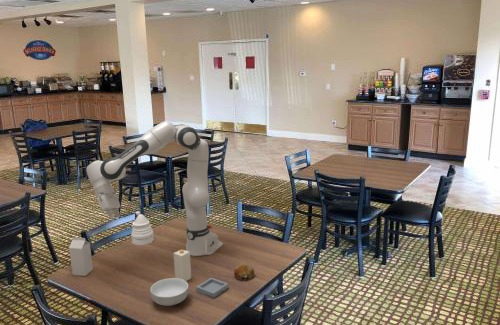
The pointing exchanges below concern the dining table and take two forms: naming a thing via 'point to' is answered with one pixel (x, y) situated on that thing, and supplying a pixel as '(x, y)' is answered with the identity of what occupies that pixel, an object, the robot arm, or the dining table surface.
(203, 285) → the tray
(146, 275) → the dining table surface
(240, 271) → the bread roll
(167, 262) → the dining table surface
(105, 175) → the robot arm
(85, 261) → the milk carton
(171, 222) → the dining table surface
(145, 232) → the honey pot
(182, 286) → the cereal bowl
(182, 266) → the juice box
